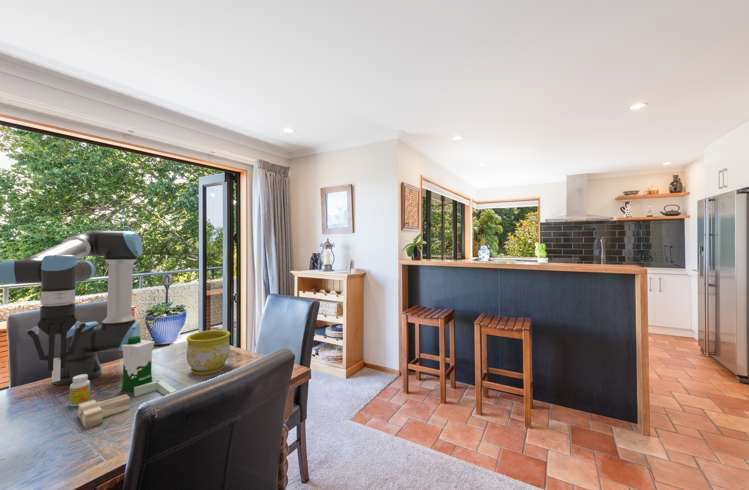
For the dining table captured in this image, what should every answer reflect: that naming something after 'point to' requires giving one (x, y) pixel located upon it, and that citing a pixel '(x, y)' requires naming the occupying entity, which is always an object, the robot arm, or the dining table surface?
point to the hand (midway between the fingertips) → (55, 380)
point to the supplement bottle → (79, 390)
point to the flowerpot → (208, 351)
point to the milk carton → (137, 363)
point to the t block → (101, 409)
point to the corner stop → (154, 388)
